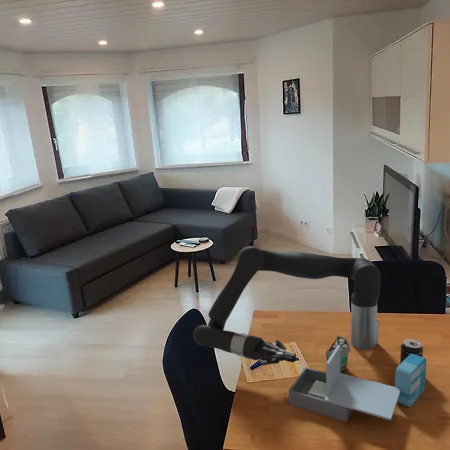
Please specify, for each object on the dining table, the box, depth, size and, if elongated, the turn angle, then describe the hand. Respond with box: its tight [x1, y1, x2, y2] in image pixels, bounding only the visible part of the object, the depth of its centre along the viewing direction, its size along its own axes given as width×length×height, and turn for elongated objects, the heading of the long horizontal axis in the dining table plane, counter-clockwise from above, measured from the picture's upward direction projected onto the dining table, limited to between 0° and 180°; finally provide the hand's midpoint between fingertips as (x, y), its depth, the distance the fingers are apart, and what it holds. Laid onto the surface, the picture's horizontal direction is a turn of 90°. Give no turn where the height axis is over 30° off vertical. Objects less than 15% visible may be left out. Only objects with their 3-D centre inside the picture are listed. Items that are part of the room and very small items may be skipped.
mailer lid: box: [324, 345, 401, 421], centre depth 130 cm, size 19×15×12 cm
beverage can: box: [399, 338, 424, 365], centre depth 146 cm, size 7×7×12 cm
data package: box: [394, 354, 427, 408], centre depth 136 cm, size 12×4×12 cm, turn 135°
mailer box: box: [288, 366, 354, 423], centre depth 138 cm, size 18×14×5 cm
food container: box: [325, 335, 351, 374], centre depth 152 cm, size 12×6×10 cm, turn 148°
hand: (295, 358), depth 140 cm, fingers closed
